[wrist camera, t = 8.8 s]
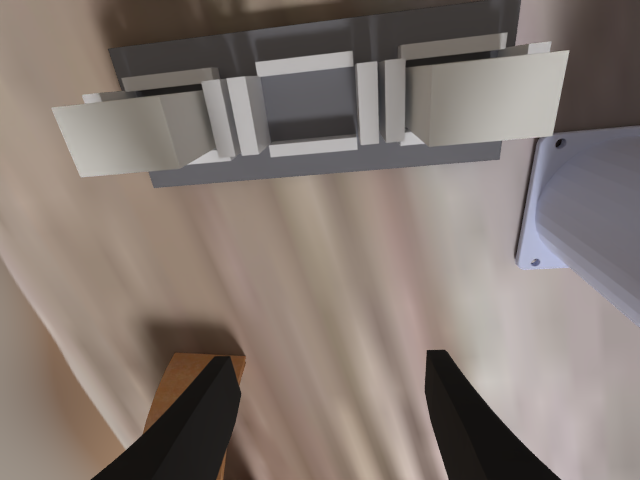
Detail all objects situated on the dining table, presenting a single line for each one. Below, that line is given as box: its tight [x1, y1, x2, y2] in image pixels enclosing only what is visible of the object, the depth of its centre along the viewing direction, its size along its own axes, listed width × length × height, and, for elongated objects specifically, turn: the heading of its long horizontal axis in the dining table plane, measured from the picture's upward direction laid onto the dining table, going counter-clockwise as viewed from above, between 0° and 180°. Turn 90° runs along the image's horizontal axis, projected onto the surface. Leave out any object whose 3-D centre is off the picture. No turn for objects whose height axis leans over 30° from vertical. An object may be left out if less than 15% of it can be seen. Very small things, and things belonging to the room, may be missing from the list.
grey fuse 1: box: [51, 90, 216, 177], centre depth 15 cm, size 4×2×6 cm, turn 96°
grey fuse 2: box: [405, 50, 569, 147], centre depth 13 cm, size 4×2×6 cm, turn 96°
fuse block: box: [82, 0, 552, 188], centre depth 16 cm, size 19×7×4 cm, turn 96°
